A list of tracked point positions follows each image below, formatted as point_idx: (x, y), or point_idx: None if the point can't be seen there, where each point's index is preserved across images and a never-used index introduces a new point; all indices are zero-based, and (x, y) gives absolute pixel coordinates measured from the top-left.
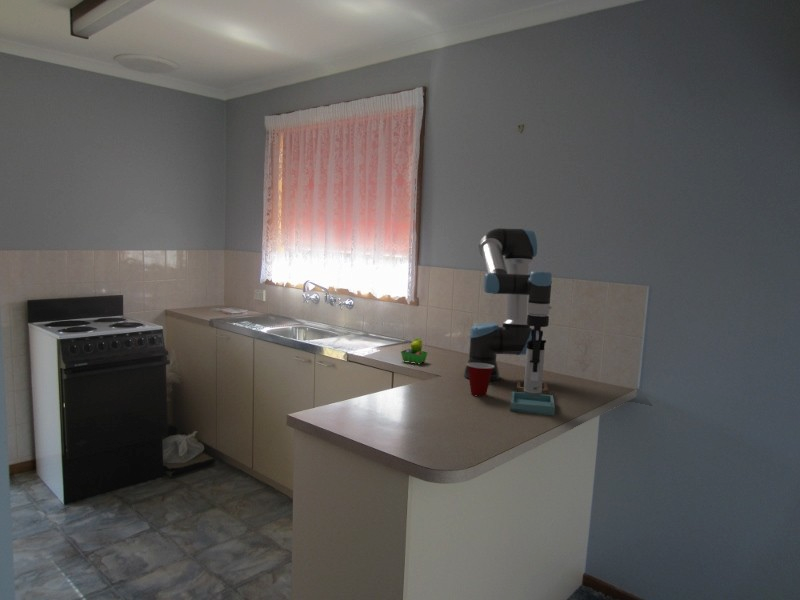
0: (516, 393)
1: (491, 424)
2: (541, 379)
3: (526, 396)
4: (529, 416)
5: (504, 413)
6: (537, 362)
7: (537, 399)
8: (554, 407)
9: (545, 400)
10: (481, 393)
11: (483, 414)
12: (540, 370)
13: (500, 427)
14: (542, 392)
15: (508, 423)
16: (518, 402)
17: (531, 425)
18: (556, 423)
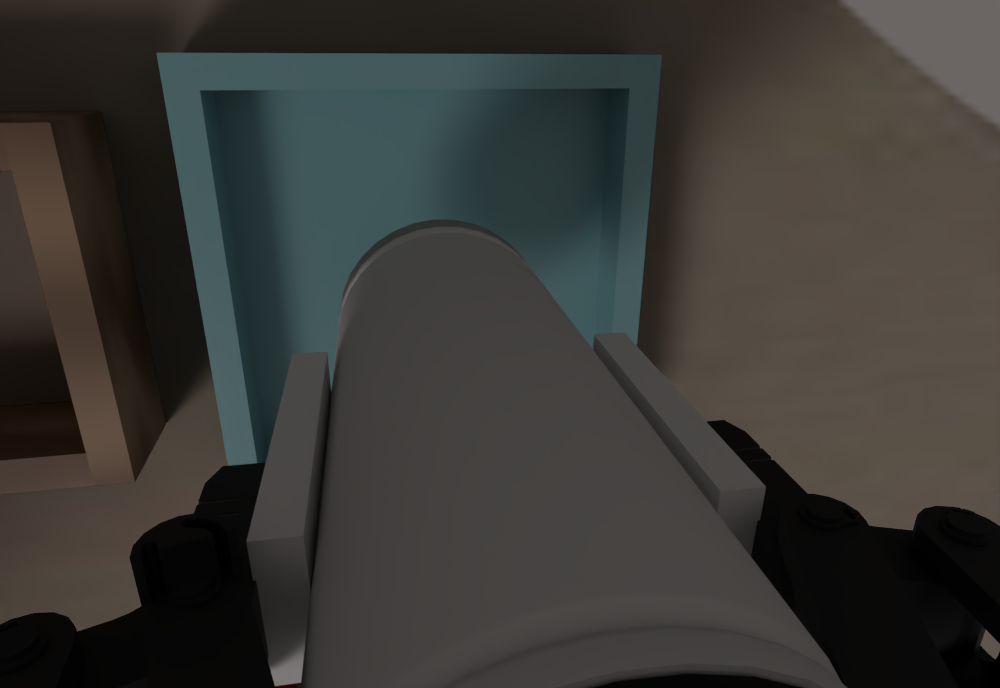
0: (257, 451)
1: (902, 494)
2: (531, 289)
3: (247, 348)
4: (698, 276)
5: None
6: (903, 532)
7: (234, 229)
8: (661, 59)
9: (222, 140)
10: (288, 685)
11: None
12: (609, 374)
13: (951, 439)
14: (80, 188)
15: (875, 404)
16: None
17: (901, 252)
18: (837, 45)
